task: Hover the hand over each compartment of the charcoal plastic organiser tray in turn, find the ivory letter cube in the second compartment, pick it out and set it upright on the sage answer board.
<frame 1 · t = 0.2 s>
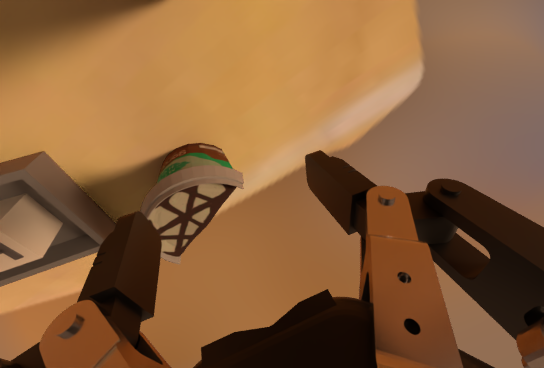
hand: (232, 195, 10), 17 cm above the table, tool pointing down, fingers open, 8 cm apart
food container: (180, 164, 27), on the table
letter cube: (21, 217, 23), resting on organiser tray
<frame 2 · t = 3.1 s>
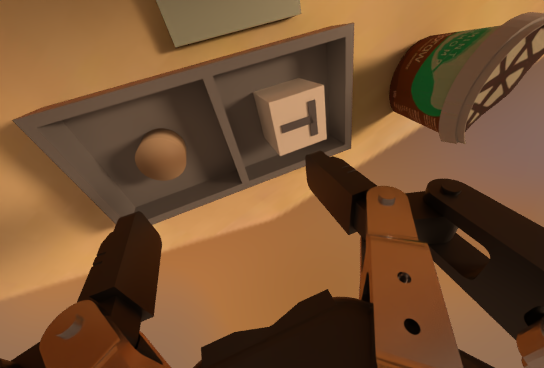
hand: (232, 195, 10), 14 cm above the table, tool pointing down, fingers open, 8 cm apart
food container: (410, 63, 26), on the table
organiser tray: (224, 126, 22), on the table
tan oval stone: (164, 148, 21), resting on organiser tray
letter cube: (280, 109, 22), resting on organiser tray
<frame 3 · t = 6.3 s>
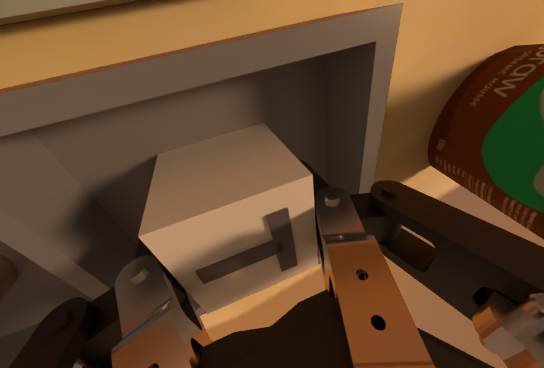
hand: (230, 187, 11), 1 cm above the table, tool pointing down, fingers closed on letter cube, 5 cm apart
food container: (471, 93, 15), on the table
organiser tray: (106, 216, 10), on the table
letter cube: (228, 180, 11), resting on organiser tray, touching gripper
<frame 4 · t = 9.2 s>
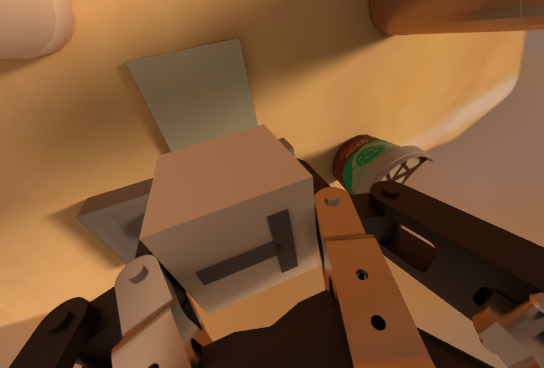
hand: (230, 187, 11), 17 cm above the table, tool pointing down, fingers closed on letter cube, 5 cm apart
food container: (346, 151, 35), on the table
answer board: (204, 104, 24), on the table
organiser tray: (209, 199, 31), on the table
letter cube: (229, 181, 11), point 17 cm above the table, touching gripper
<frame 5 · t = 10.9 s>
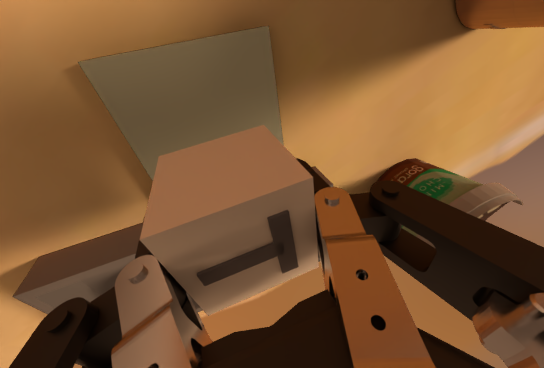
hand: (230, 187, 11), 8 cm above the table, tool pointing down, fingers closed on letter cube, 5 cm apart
food container: (388, 178, 28), on the table
answer board: (209, 126, 16), on the table
organiser tray: (212, 244, 23), on the table
letter cube: (229, 181, 11), point 7 cm above the table, touching gripper
when the fingers open (3 cm above the table, at t = 12.3 s): letter cube drops 1 cm, resting on answer board.
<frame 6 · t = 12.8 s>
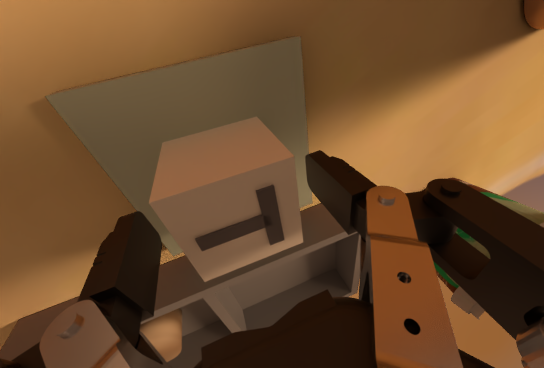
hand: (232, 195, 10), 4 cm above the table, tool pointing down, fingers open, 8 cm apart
food container: (421, 200, 24), on the table
answer board: (222, 160, 13), on the table
organiser tray: (224, 285, 20), on the table
tan oval stone: (158, 317, 19), resting on organiser tray
letter cube: (225, 168, 12), point 1 cm above the table, touching answer board
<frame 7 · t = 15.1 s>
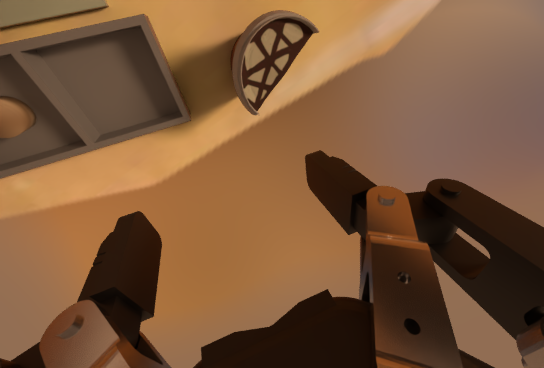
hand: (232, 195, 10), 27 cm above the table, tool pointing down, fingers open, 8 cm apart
food container: (246, 51, 31), on the table
organiser tray: (70, 97, 27), on the table
tan oval stone: (13, 113, 25), resting on organiser tray
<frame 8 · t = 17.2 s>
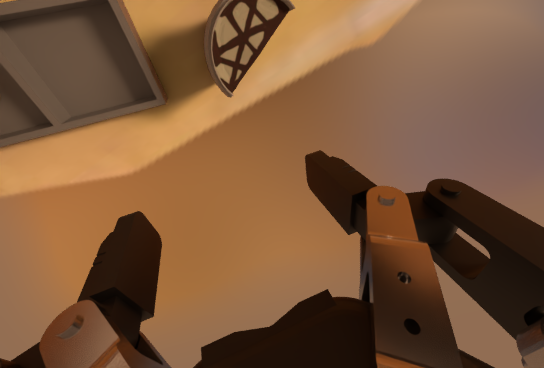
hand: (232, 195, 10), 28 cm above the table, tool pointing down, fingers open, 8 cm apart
food container: (226, 34, 30), on the table
organiser tray: (37, 75, 25), on the table
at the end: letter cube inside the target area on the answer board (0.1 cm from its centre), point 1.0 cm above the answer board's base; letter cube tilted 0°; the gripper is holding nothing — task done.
